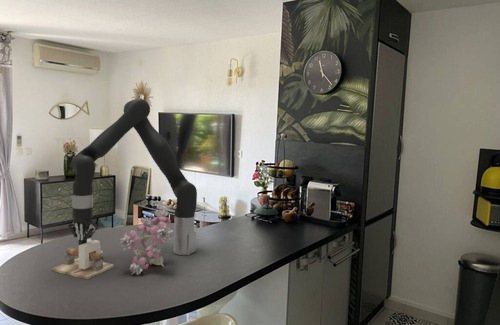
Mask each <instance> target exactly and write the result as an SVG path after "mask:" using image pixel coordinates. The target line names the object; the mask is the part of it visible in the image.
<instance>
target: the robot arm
mask: <svg viewBox="0 0 500 325" xmlns="http://www.w3.org/2000/svg"><path fill="white" fill-rule="evenodd" d="M150 113H151V107H150V104H149V102H148V101H147V100H145V99H144V98H134V99H132V100H130V101H128V102H126V103H125V104H124V106H123V113H122V115H121V116H120V117H119V118H118V119H117V120H116V121H114V123H112V124H111V125H109V126H108V127H107V128H106V129H105V130H103V131H102V132H101V133H100V134H99V135H97V137H96V138H95V139H93V141H92V142H91V143H90V144H88V146H86V147H85V148H83V149H82V150H81V151H79V152H78V153H76V155H75V156H73V158H72V159H71V161H70V167H71V169H72V170H73V172H76V175H75V180H74V181H73V184H72V198H71V199H72V200H71V203H72V204H71V210H72V211H71V214H72V217H71V218H72V219H73V220H72V223H69V224H68V227H69V229H70V231H71V233H72V235H73V237H74V238H76V239H77V240H78V246H79V245H81V244H84V243H87V239H88V238H91V239H92V237H93V236H94V234H95V233H96V232H97V230H98V227H97V226H94V225H93V220H92V219H93V217H94V196H93V191H94V190H93V187H94V186H93V182H94V178H95V174H96V163H95V162H96V161H97V160H98V159H100V158H103V157H104V156H106V155H107V154H108V153H109V152H110V151H111V150H112V149H113V148H114V147H115V146H116V144H118V143H119V141H120V140H121V139H122V138H123V137H124V136H125V135H126V134H127V133H128V132H129V131H130V130H132V129H134V131H135V132H136V133H137V135H138V136H139V138H140V139H141V141H142V143H143V145H144V146H145V148H146V149H147V152H148V153H149V155H150V156H151V158H152V159H153V162H154V163H155V164H156V166H157V167H158V169H159V170H160V172H161V173H162V174H163V175H164V177H165V178H166V180H167V182H168V184H169V185H170V188H171V190H172V193H173V194H174V196H175V197H176V208H175V209H174V216H173V221H174V224H173V253H174V254H175V255H178V256H190V255H191V254H193V253H195V252H196V243H197V242H196V238H197V235H196V234H197V233H196V231H195V217H196V215H195V213H196V211H197V201H198V190H197V187H196V186H195V184H193V183H191V182H189V181H188V179H187V178H186V177H185V175H184V174H183V172H182V171H181V169H180V167H179V164H178V161H177V158H176V156H175V153H174V151H173V149H172V147H171V146H170V143H168V141H167V140H166V138H165V137H163V135H162V134H161V133H159V132H158V131H157V130H156V128H155V127H154V126H153V125H152V123H151V121H150V120H149V118H148V117H149V115H150Z"/></svg>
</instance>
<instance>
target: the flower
mask: <svg viewBox="0 0 500 325" xmlns="http://www.w3.org/2000/svg"><path fill="white" fill-rule="evenodd" d="M168 215H169V211H168V210H166V209H164V208H161V209H156V210H155V211H154V216H155V217H153V218H150V217H151V216H149V218H148V217H145V218H144V217H141V219H140V220H139V221H140V222H141V224H138V225H137V226H136V228H137V231H138V232H141V231H142V230H143V233H142V234H141V235H140V237H139V235H137V234H138V232H137V231H136V230H130V231H129V232H127V231H126V232H125V233H123V236H122V238H120V239H119V241H120V243H119V244H118V245H119V247H122V248H123V249H122V250H123V251H128V250H131V251H132V250H133V252H134V254H135V255H134V256H133V257H132V261H131V264H130V268H129V270H130V273H131V272H132V273H131V275H133V274H135V275H140V274H141V272H143V270H147V269H148V268H149V265H150V266H151V265H156V266H162V267H163V268H164V267H165V265H164V260H165V259H164V257H163V256H160V255H161V249H163V247H161V245H162V244H166V242H167V241H170V240H171V239H172V238H171V237H170V236H171V235H172V234H174V229H171V228H170V227H168V225H171V219H170V218H169V217H168ZM152 225H153V226H152ZM158 225H159V226H158ZM149 238H150V241H151V242H152V243H151V245H148V246H146V244H145V242H146V241H148V240H149ZM140 244H141V246H142V247H143V249H144V250H142V249H140V248H139V249H138V247H137V246H139V245H140ZM138 257H139V260H138ZM147 258H150V259H149V260H148V262H149V263H147Z"/></svg>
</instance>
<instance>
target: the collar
mask: <svg viewBox="0 0 500 325" xmlns="http://www.w3.org/2000/svg"><path fill="white" fill-rule="evenodd" d="M100 246H101V240H96V239H92V241H90V242H87V243H84V244H81V245H79V244H78V250H79V256H78V258H79V268H81V269H87V268H89V267H91V266H93V261H95V260H92V259H89V253H96V254H100Z"/></svg>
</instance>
